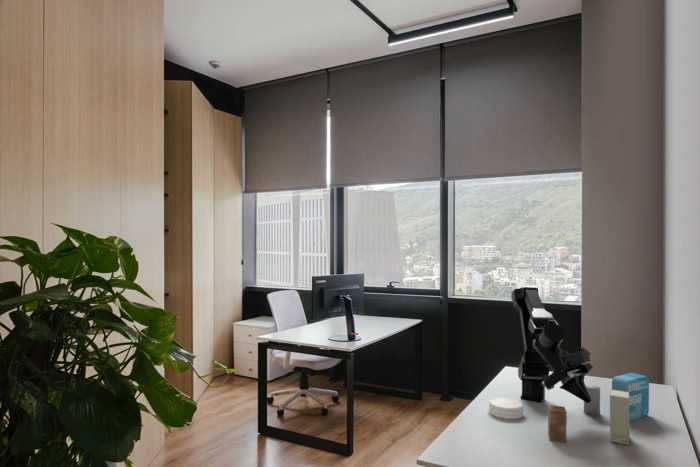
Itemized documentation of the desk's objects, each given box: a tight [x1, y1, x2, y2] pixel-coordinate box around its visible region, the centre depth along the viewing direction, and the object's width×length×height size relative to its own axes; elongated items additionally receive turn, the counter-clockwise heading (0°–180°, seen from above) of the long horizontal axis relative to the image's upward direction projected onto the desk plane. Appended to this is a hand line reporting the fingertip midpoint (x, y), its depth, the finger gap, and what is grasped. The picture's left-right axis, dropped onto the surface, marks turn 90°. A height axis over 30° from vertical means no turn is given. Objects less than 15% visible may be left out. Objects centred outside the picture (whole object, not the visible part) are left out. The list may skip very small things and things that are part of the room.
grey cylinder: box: [583, 384, 601, 417], centre depth 143 cm, size 4×4×8 cm
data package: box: [611, 372, 650, 422], centre depth 141 cm, size 12×4×12 cm, turn 120°
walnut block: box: [547, 404, 568, 444], centre depth 124 cm, size 4×4×8 cm
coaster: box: [488, 396, 524, 420], centre depth 142 cm, size 10×10×4 cm
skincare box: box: [609, 389, 630, 446], centre depth 124 cm, size 6×4×12 cm
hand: (589, 402), depth 130 cm, fingers closed
